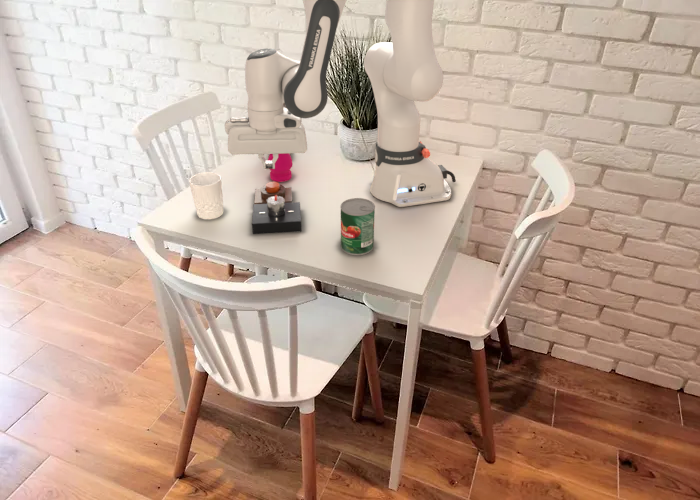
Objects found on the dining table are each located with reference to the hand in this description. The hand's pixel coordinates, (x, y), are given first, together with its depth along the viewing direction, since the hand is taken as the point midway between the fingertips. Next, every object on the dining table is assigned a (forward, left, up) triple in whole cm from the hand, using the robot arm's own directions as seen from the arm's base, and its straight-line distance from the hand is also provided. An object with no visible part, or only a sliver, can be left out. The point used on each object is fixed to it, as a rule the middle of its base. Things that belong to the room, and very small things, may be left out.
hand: (269, 168), depth 148 cm
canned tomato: (-21, +25, -10) cm, 34 cm away
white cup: (+16, +5, -10) cm, 20 cm away
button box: (-1, 0, -10) cm, 10 cm away
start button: (-1, 0, -7) cm, 7 cm away
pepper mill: (-3, -14, -10) cm, 17 cm away
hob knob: (-2, +12, -7) cm, 14 cm away
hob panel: (-2, +12, -10) cm, 16 cm away
